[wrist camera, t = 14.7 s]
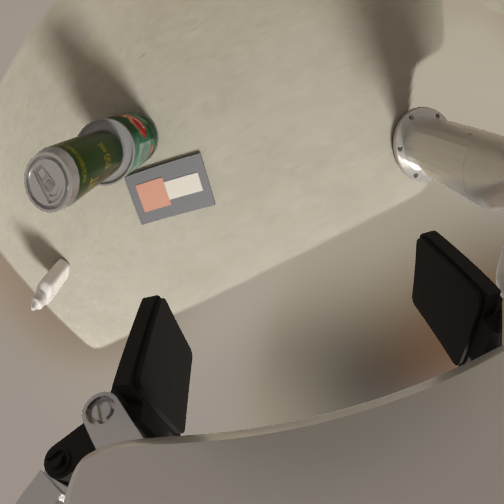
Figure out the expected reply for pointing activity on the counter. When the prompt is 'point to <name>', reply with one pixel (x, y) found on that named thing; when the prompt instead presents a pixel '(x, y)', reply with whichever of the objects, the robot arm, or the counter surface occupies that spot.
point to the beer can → (71, 169)
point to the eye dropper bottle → (50, 284)
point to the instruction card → (170, 189)
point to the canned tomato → (128, 140)
